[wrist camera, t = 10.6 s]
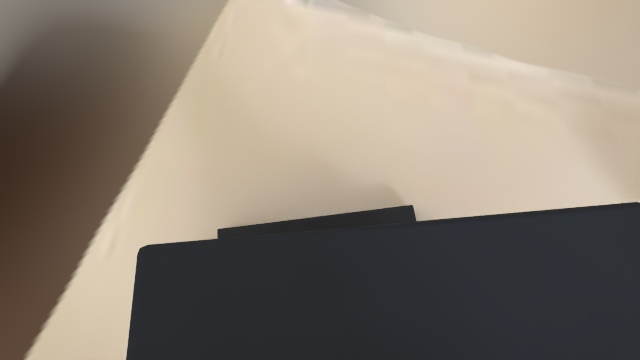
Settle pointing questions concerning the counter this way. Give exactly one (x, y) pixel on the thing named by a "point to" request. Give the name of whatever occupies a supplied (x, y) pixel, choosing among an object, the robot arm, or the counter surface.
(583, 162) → the counter surface
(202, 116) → the counter surface
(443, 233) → the post
